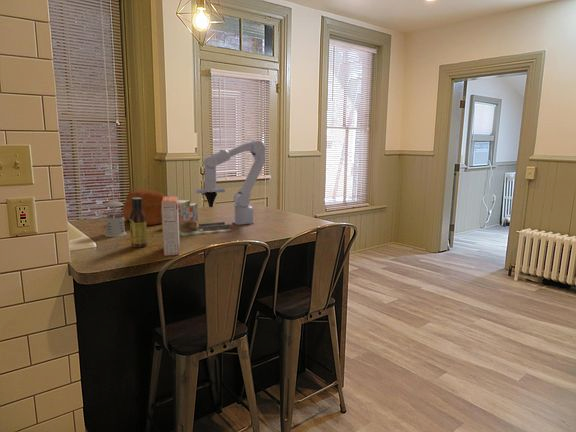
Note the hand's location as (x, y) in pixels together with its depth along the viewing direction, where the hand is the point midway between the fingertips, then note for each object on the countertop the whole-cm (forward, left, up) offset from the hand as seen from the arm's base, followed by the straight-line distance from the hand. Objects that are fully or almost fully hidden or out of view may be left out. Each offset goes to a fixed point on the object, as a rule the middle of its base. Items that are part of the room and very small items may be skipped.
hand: (210, 206), depth 210 cm
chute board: (+8, +12, -9) cm, 17 cm away
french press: (+46, +2, -10) cm, 47 cm away
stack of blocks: (+12, -9, -10) cm, 18 cm away
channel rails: (+3, +12, -9) cm, 15 cm away
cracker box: (+30, +42, -10) cm, 52 cm away
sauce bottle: (+40, +29, -10) cm, 50 cm away
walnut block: (+15, +12, -8) cm, 21 cm away
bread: (+28, -21, -10) cm, 36 cm away
